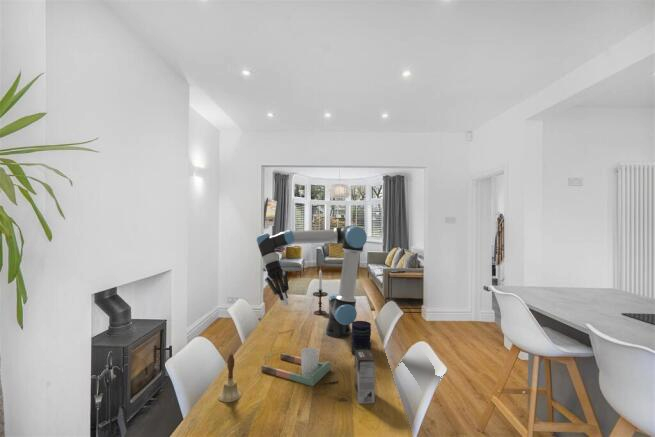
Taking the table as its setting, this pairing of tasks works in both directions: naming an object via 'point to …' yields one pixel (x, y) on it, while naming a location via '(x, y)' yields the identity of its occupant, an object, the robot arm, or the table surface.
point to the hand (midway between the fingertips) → (286, 305)
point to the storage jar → (361, 336)
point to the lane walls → (273, 370)
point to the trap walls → (285, 373)
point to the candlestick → (320, 295)
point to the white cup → (309, 361)
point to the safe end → (313, 378)
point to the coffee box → (364, 376)
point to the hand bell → (230, 384)
